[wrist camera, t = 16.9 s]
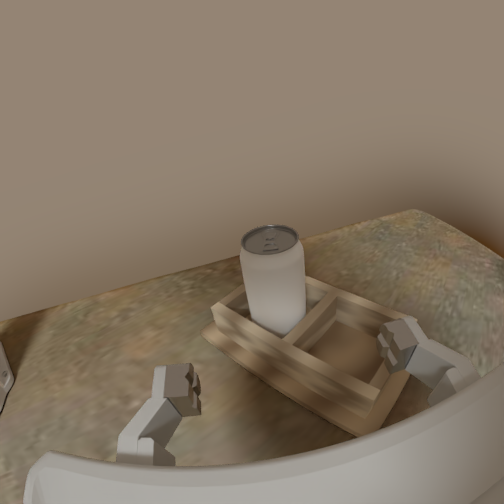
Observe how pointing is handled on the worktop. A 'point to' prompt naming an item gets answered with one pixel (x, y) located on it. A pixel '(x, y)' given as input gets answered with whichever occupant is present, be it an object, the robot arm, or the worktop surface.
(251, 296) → the can
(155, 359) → the worktop surface
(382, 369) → the can holder
